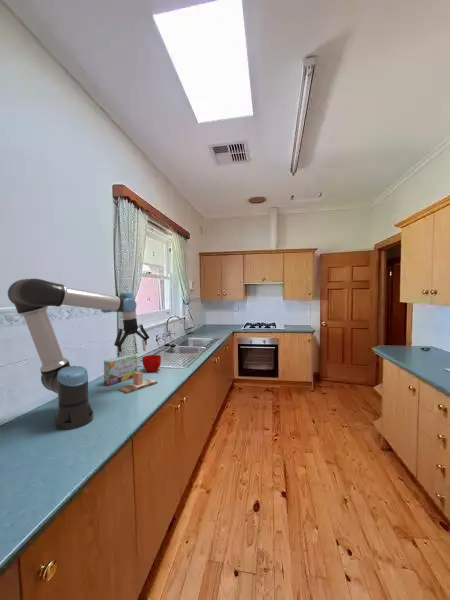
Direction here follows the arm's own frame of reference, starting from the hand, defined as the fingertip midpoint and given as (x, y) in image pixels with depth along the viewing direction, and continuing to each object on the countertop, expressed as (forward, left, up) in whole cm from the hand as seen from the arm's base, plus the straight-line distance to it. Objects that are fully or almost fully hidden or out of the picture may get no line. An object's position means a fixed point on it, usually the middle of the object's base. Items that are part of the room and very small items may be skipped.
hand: (133, 353), depth 160 cm
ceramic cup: (+27, +19, -21) cm, 39 cm away
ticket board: (+3, 0, -20) cm, 21 cm away
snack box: (+3, +19, -21) cm, 28 cm away
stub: (+2, 0, -19) cm, 19 cm away
